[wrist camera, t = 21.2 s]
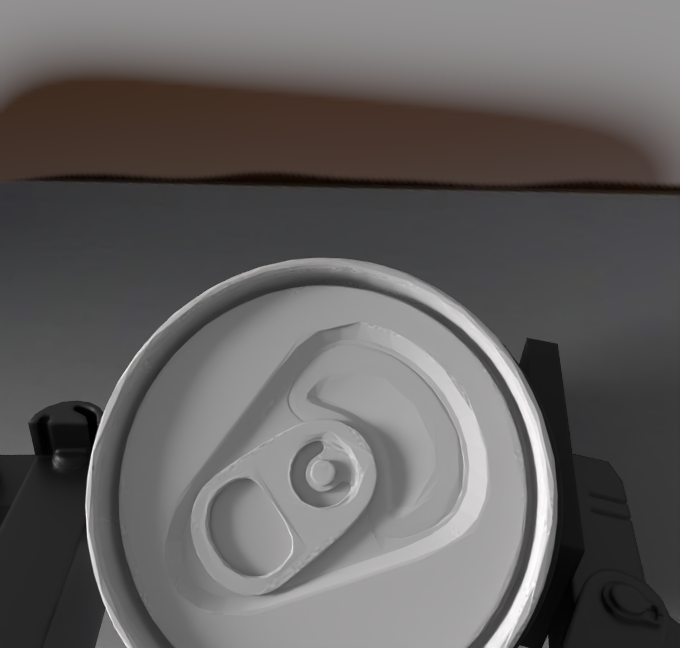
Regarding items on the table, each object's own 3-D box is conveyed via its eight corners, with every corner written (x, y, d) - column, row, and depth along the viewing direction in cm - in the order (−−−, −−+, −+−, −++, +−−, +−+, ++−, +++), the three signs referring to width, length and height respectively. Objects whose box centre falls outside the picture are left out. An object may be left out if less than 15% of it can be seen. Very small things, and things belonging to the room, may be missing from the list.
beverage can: (522, 515, 18) (729, 549, 6) (346, 651, 17) (229, 953, 6) (391, 346, 20) (370, 139, 8) (229, 464, 19) (-34, 418, 8)
